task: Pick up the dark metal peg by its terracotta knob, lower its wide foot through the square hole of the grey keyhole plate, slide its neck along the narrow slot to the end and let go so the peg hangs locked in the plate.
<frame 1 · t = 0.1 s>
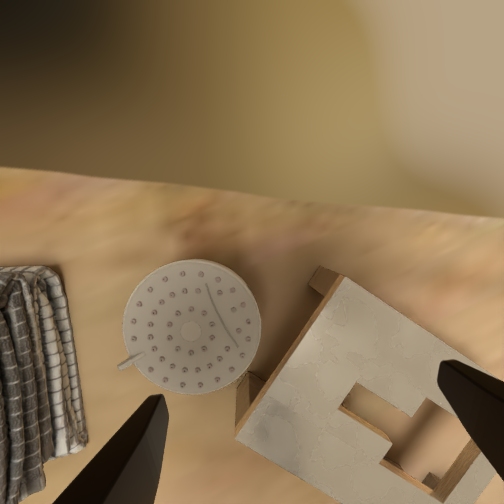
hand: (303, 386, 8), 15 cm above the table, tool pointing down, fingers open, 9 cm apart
keyhole stand: (355, 377, 24), on the table
towel: (0, 362, 24), on the table
peg: (433, 497, 26), on the table
showerhead: (203, 304, 24), on the table
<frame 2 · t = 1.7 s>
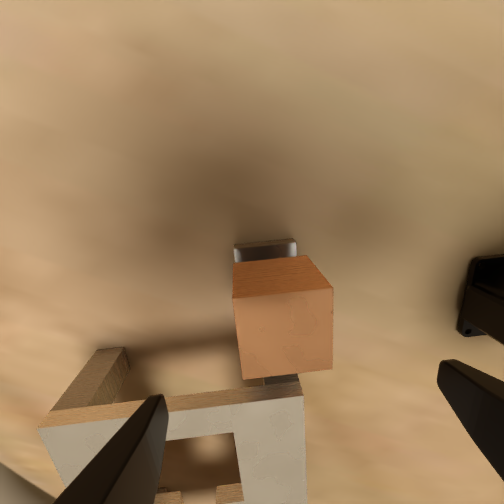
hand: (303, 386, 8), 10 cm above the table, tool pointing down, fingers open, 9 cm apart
keyhole stand: (208, 426, 22), on the table
peg: (265, 269, 18), on the table
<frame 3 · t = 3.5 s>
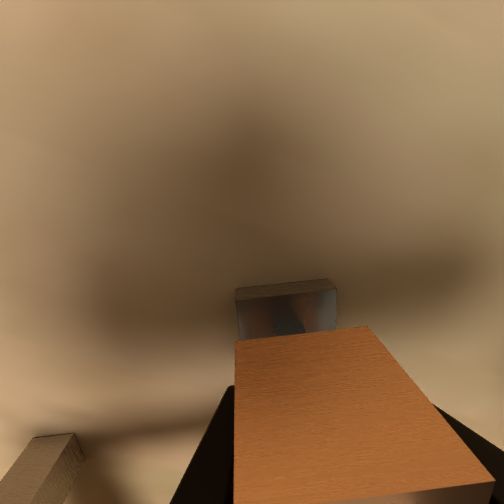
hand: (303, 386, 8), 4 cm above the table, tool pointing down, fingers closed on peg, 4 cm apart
peg: (284, 323, 12), on the table, touching gripper
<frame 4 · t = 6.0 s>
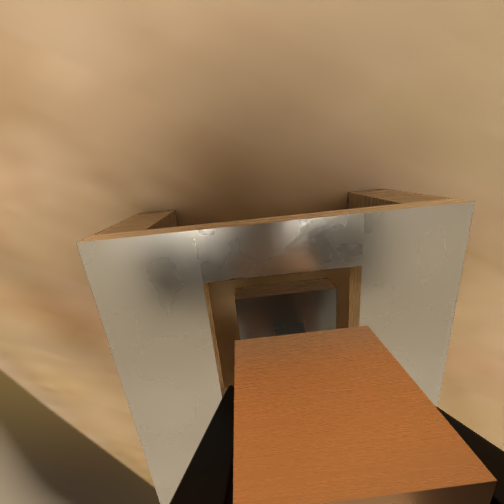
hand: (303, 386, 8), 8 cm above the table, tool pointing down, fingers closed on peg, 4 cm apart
keyhole stand: (273, 333, 17), on the table
peg: (284, 323, 12), point 5 cm above the table, touching gripper
when the fingers open (7 cm above the table, at t = 8.7 s): peg stays where it is, resting on keyhole stand.
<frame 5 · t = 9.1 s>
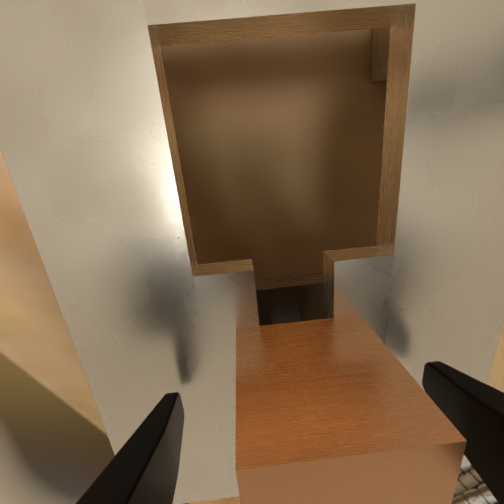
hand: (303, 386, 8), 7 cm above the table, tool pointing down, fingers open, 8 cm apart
keyhole stand: (270, 242, 14), on the table
towel: (473, 502, 23), on the table
peg: (282, 315, 12), point 2 cm above the table, touching keyhole stand
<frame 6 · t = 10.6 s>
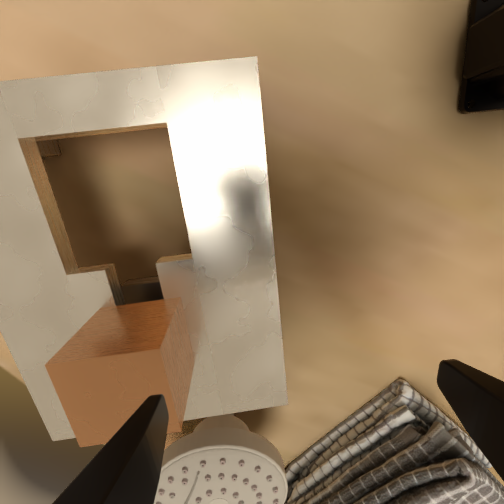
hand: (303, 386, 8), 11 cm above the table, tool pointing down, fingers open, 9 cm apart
keyhole stand: (165, 250, 18), on the table
towel: (373, 458, 27), on the table
peg: (166, 303, 17), point 2 cm above the table, touching keyhole stand
showerhead: (225, 413, 23), on the table
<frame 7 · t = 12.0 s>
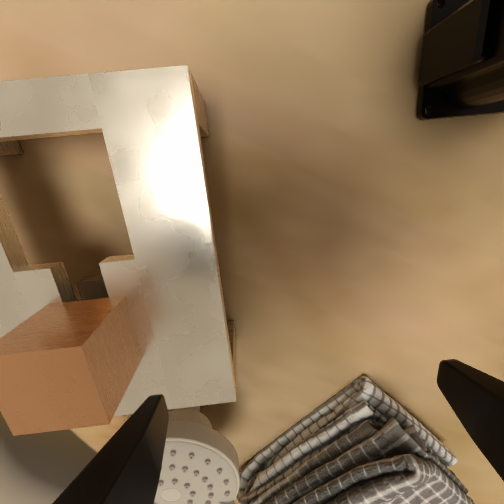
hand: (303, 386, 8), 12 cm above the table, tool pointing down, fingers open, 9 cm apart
keyhole stand: (127, 248, 19), on the table
towel: (339, 452, 28), on the table
peg: (124, 300, 17), point 2 cm above the table, touching keyhole stand
showerhead: (191, 407, 24), on the table
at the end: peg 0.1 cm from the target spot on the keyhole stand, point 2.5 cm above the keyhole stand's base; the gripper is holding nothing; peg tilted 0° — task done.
